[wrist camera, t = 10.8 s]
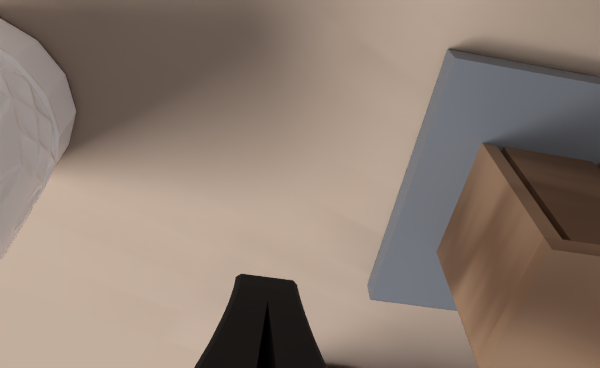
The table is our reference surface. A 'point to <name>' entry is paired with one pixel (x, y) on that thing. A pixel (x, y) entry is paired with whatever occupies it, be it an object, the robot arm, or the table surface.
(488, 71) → the post base
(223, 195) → the table surface
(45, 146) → the white cup
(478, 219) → the sliding lid crate
